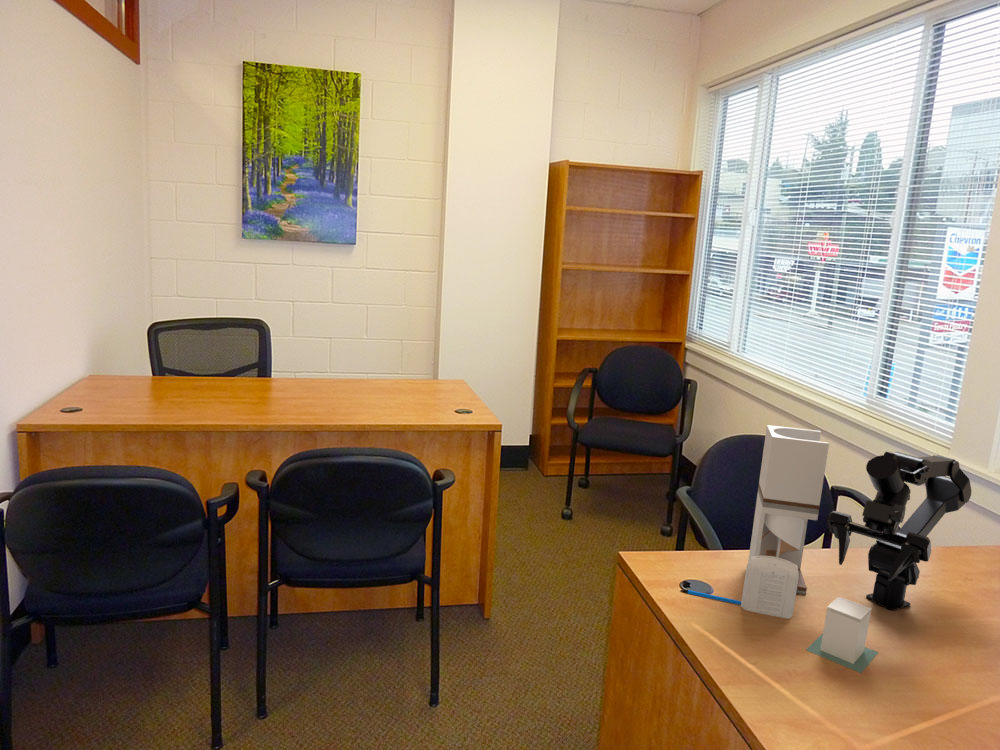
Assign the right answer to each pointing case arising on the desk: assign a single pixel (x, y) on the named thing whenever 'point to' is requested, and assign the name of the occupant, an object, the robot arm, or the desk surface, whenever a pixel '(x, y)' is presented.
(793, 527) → the white coffee grinder
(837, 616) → the white lidded box
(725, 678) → the desk surface
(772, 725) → the desk surface
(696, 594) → the pen
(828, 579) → the desk surface
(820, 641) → the mat
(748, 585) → the photo printer
